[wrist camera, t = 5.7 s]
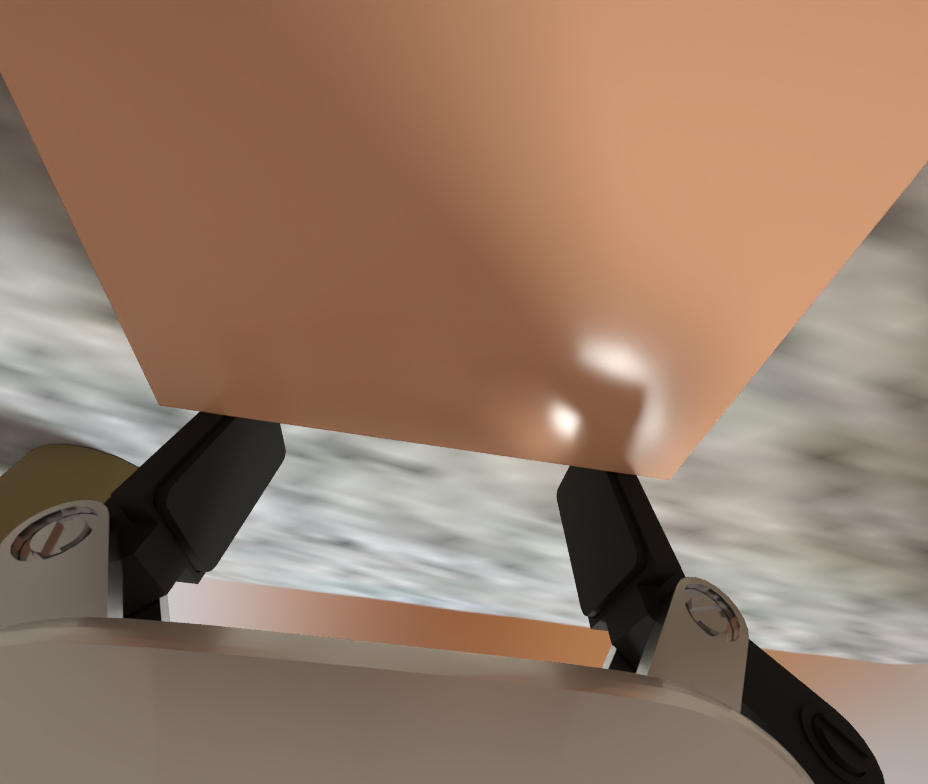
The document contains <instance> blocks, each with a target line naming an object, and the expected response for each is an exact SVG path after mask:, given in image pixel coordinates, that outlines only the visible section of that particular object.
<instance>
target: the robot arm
mask: <svg viewBox="0 0 928 784" xmlns="http://www.w3.org/2000/svg"><path fill="white" fill-rule="evenodd" d="M285 453H286V450H285V445H284V440H283V435H282V431H281V426H280V423H276V422H269V421H262V420H255V419H248V418H242V417H235V416H228V415H221V414H214V413H207V412H201V411H200V412H199V413H198V414H197V415H196V416H195V417H193V418H192V419H191V420H190V421H189V422H188V423H187V424H186V425H185V426H184V427H183V428H182V429H180V430H179V431H178V432H177V433H176V434H175V435H174V436H173V437H172V438H171V439H170V440H169V441H167V442H166V443H165V444H164V445H163V446H162V447H161V448H160V449H159V450H158V451H157V452H156V453H154V454H153V455H152V456H151V457H150V458H149V459H148V460H147V461H146V462H145V463H144V464H142V465H141V466H140V467H139V468H138V469H137V470H136V471H135V472H134V473H133V474H132V475H131V476H129V477H128V478H127V479H126V480H125V481H124V482H123V483H122V484H121V485H120V486H119V487H118V488H116V489H115V490H114V491H113V492H112V493H111V494H110V495H111V497H110V498H109V499H108V500H107V501H106V502H105V503H103V504H102V503H101V502H98V501H93V500H76V501H72V502H67V503H63V504H59V505H57V506H54V507H51V508H49V509H46V510H44V511H42V512H40V513H38V514H36V515H34V516H33V517H31V518H29V519H27V520H26V521H24V522H23V523H22V524H20V525H19V526H18V527H16V528H15V529H14V530H13V531H12V532H11V533H10V534H9V535H8V536H7V537H6V538H5V539H4V540H3V541H2V543H1V545H0V784H885V783H884V778H883V774H882V771H881V769H880V767H879V765H878V763H877V761H876V758H875V756H874V755H873V753H872V752H871V750H870V749H869V747H868V746H867V744H866V743H865V741H864V739H863V738H862V737H861V736H860V735H859V733H858V732H857V731H856V730H855V729H854V727H853V726H852V725H851V724H850V723H849V722H848V721H847V720H846V719H845V718H844V717H843V716H841V714H839V713H838V712H837V711H836V710H835V709H834V708H833V707H831V706H830V705H829V704H828V703H827V702H825V701H824V700H823V699H822V698H820V697H819V696H818V695H817V694H816V693H814V692H813V691H812V690H811V689H809V688H808V687H807V686H806V685H805V684H803V683H802V682H801V681H800V680H798V679H797V678H796V677H795V676H794V675H792V674H791V673H790V672H789V671H787V670H786V669H785V668H784V667H782V666H781V665H780V664H779V663H777V662H776V661H775V660H774V659H773V658H772V657H770V656H769V655H768V654H767V653H765V652H764V651H763V650H762V649H761V648H759V647H758V646H757V645H756V644H754V643H753V642H752V641H751V640H750V639H749V635H748V628H747V625H746V623H745V620H744V618H743V616H742V614H741V613H740V611H739V610H738V608H737V607H736V605H735V604H734V603H733V602H732V601H731V600H730V598H729V597H728V596H727V595H726V594H725V593H723V592H722V591H721V590H720V589H719V588H717V587H716V586H714V585H713V584H711V583H709V582H708V581H706V580H703V579H700V578H697V577H685V575H684V573H683V571H682V569H681V566H680V564H679V562H678V560H677V558H676V556H675V554H674V552H673V550H672V548H671V546H670V544H669V542H668V539H667V537H666V535H665V533H664V531H663V529H662V527H661V525H660V523H659V521H658V519H657V517H656V515H655V513H654V511H653V508H652V506H651V504H650V502H649V500H648V498H647V496H646V494H645V492H644V490H643V488H642V486H641V484H640V482H639V480H638V478H637V475H631V474H624V473H617V472H611V471H604V470H597V469H590V468H583V467H576V466H570V467H569V469H568V470H567V472H566V474H565V476H564V478H563V480H562V482H561V484H560V486H559V488H558V490H557V502H558V507H559V511H560V516H561V520H562V525H563V529H564V534H565V538H566V543H567V547H568V552H569V556H570V561H571V565H572V570H573V574H574V579H575V583H576V588H577V592H578V597H579V602H580V606H581V610H582V612H583V614H584V615H585V616H588V619H589V623H590V627H591V629H596V630H604V631H609V635H610V639H611V643H612V646H611V649H610V651H609V653H608V656H607V658H606V660H605V662H604V665H603V667H602V668H596V667H588V666H580V665H573V664H565V663H557V662H548V661H539V660H531V659H522V658H513V657H503V656H495V655H486V654H477V653H468V652H459V651H450V650H440V649H432V648H422V647H413V646H404V645H394V644H385V643H376V642H366V641H356V640H348V639H338V638H329V637H319V636H310V635H300V634H290V633H280V632H270V631H261V630H251V629H241V628H230V627H221V626H212V625H201V624H189V623H177V622H170V617H169V607H168V597H167V594H168V592H169V591H170V589H171V588H172V587H173V585H174V584H175V582H176V581H177V582H185V583H195V584H198V583H199V582H200V580H201V578H202V577H203V576H204V574H205V573H206V572H209V571H211V570H213V569H214V568H215V566H216V565H217V564H218V562H219V561H220V559H221V557H222V556H223V554H224V553H225V551H226V550H227V548H228V547H229V545H230V543H231V542H232V540H233V539H234V537H235V536H236V534H237V532H238V531H239V529H240V528H241V526H242V525H243V523H244V522H245V520H246V518H247V517H248V515H249V514H250V512H251V511H252V509H253V508H254V506H255V504H256V503H257V501H258V500H259V498H260V497H261V495H262V493H263V492H264V490H265V489H266V487H267V486H268V484H269V483H270V481H271V479H272V478H273V476H274V475H275V473H276V472H277V470H278V468H279V467H280V465H281V464H282V462H283V460H284V458H285Z"/></svg>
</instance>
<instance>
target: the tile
mask: <svg viewBox="0 0 928 784" xmlns="http://www.w3.org/2000/svg"><path fill="white" fill-rule="evenodd" d="M0 73H1V75H2V77H3V79H4V81H5V83H6V85H7V87H8V89H9V92H10V94H11V96H12V98H13V100H14V102H15V104H16V106H17V108H18V110H19V113H20V115H21V117H22V119H23V121H24V123H25V125H26V127H27V129H28V131H29V133H30V136H31V138H32V140H33V142H34V144H35V146H36V148H37V150H38V152H39V154H40V157H41V159H42V161H43V163H44V165H45V167H46V169H47V171H48V173H49V175H50V177H51V180H52V182H53V184H54V186H55V188H56V190H57V192H58V194H59V196H60V198H61V201H62V203H63V205H64V207H65V209H66V211H67V213H68V215H69V217H70V219H71V222H72V224H73V226H74V228H75V230H76V232H77V234H78V236H79V238H80V240H81V242H82V245H83V247H84V249H85V251H86V253H87V255H88V257H89V259H90V261H91V263H92V266H93V268H94V270H95V272H96V274H97V276H98V278H99V280H100V282H101V284H102V286H103V289H104V291H105V293H106V295H107V297H108V299H109V301H110V303H111V305H112V307H113V310H114V312H115V314H116V316H117V318H118V320H119V322H120V324H121V326H122V328H123V331H124V333H125V335H126V337H127V339H128V341H129V343H130V345H131V347H132V349H133V351H134V354H135V356H136V358H137V360H138V362H139V364H140V366H141V368H142V370H143V372H144V375H145V377H146V379H147V381H148V383H149V385H150V387H151V389H152V391H153V393H154V395H155V398H156V400H157V402H158V404H159V405H160V406H166V407H173V408H180V409H187V410H194V411H201V412H207V413H214V414H221V415H228V416H235V417H242V418H248V419H255V420H262V421H269V422H276V423H283V424H289V425H296V426H303V427H310V428H317V429H324V430H330V431H337V432H344V433H351V434H358V435H365V436H371V437H378V438H385V439H392V440H399V441H406V442H412V443H419V444H426V445H433V446H440V447H447V448H453V449H460V450H467V451H474V452H481V453H488V454H494V455H501V456H508V457H515V458H522V459H529V460H535V461H542V462H549V463H556V464H563V465H570V466H576V467H583V468H590V469H597V470H604V471H611V472H617V473H624V474H631V475H638V476H645V477H652V478H658V479H665V480H669V479H670V478H671V477H672V476H673V474H674V473H675V472H676V471H677V469H678V468H679V467H680V466H681V464H682V463H683V462H684V461H685V460H686V458H687V457H688V456H689V455H690V453H691V452H692V451H693V450H694V448H695V447H696V446H697V445H698V443H699V442H700V441H701V440H702V439H703V437H704V436H705V435H706V434H707V432H708V431H709V430H710V429H711V427H712V426H713V425H714V424H715V423H716V421H717V420H718V419H719V418H720V416H721V415H722V414H723V413H724V411H725V410H726V409H727V408H728V407H729V405H730V404H731V403H732V402H733V400H734V399H735V398H736V397H737V395H738V394H739V393H740V392H741V391H742V389H743V388H744V387H745V386H746V384H747V383H748V382H749V381H750V379H751V378H752V377H753V376H754V375H755V373H756V372H757V371H758V370H759V368H760V367H761V366H762V365H763V363H764V362H765V361H766V360H767V358H768V357H769V356H770V355H771V354H772V352H773V351H774V350H775V349H776V347H777V346H778V345H779V344H780V342H781V341H782V340H783V339H784V338H785V336H786V335H787V334H788V333H789V331H790V330H791V329H792V328H793V326H794V325H795V324H796V323H797V322H798V320H799V319H800V318H801V317H802V315H803V314H804V313H805V312H806V310H807V309H808V308H809V307H810V306H811V304H812V303H813V302H814V301H815V299H816V298H817V297H818V296H819V294H820V293H821V292H822V291H823V290H824V288H825V287H826V286H827V285H828V283H829V282H830V281H831V280H832V278H833V277H834V276H835V275H836V273H837V272H838V271H839V270H840V269H841V267H842V266H843V265H844V264H845V262H846V261H847V260H848V259H849V257H850V256H851V255H852V254H853V253H854V251H855V250H856V249H857V248H858V246H859V245H860V244H861V243H862V241H863V240H864V239H865V238H866V237H867V235H868V234H869V233H870V232H871V230H872V229H873V228H874V227H875V225H876V224H877V223H878V222H879V221H880V219H881V218H882V217H883V216H884V214H885V213H886V212H887V211H888V209H889V208H890V207H891V206H892V205H893V203H894V202H895V201H896V200H897V198H898V197H899V196H900V195H901V193H902V192H903V191H904V190H905V188H906V187H907V186H908V185H909V184H910V182H911V181H912V180H913V179H914V177H915V176H916V175H917V174H918V172H919V171H920V170H921V169H922V168H923V166H924V165H925V164H926V163H927V161H928V0H0Z"/></svg>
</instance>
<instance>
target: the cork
mask: <svg viewBox="0 0 928 784" xmlns="http://www.w3.org/2000/svg"><path fill="white" fill-rule="evenodd" d="M137 469H138V467H136V466H134V465H132V464H130V463H128V462H126V461H124V460H122V459H120V458H117V457H115V456H112V455H109V454H106V453H103V452H100V451H97V450H94V449H90V448H84V447H79V446H74V445H68V444H59V445H44V446H41V447H39V448H36V449H34V450H31V451H30V452H29V453H28V454H27V455H26V456H24V457H23V458H22V459H21V460H20V461H18V462H17V463H16V464H15V465H14V466H13V467H11V468H10V469H9V470H8V471H7V472H6V473H4V474H3V475H2V476H1V477H0V545H1V543H2V541H3V540H4V539H5V538H6V537H7V536H8V535H9V534H10V533H11V532H12V531H13V530H14V529H15V528H16V527H18V526H19V525H20V524H22V523H23V522H24V521H26V520H27V519H29V518H31V517H33V516H34V515H36V514H38V513H40V512H42V511H44V510H46V509H49V508H51V507H54V506H57V505H59V504H63V503H67V502H72V501H76V500H93V501H98V502H101V503H102V504H103V503H105V502H106V501H107V500H108V499H109V498H110V497H111V495H110V494H111V493H112V492H113V491H114V490H115V489H116V488H118V487H119V486H120V485H121V484H122V483H123V482H124V481H125V480H126V479H127V478H128V477H129V476H131V475H132V474H133V473H134V472H135V471H136V470H137Z"/></svg>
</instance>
